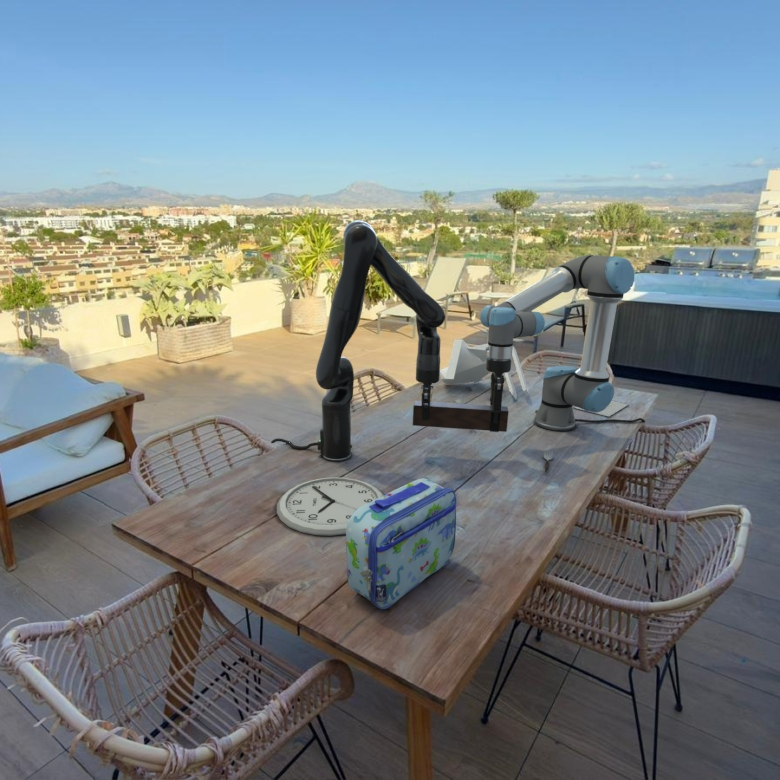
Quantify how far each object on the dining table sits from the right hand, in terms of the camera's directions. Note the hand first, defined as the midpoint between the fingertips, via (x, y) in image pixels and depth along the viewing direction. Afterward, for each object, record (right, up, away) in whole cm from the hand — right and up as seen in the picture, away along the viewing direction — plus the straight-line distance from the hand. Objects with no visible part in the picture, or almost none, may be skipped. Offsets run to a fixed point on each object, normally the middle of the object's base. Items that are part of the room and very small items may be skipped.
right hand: (493, 428), depth 169 cm
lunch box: (-31, -29, -56) cm, 70 cm away
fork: (+18, -12, +1) cm, 21 cm away
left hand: (-22, +4, +2) cm, 22 cm away
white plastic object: (+8, +11, +74) cm, 76 cm away
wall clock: (-49, -19, -26) cm, 59 cm away
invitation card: (+58, +5, +57) cm, 82 cm away
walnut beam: (-11, +1, +1) cm, 11 cm away
